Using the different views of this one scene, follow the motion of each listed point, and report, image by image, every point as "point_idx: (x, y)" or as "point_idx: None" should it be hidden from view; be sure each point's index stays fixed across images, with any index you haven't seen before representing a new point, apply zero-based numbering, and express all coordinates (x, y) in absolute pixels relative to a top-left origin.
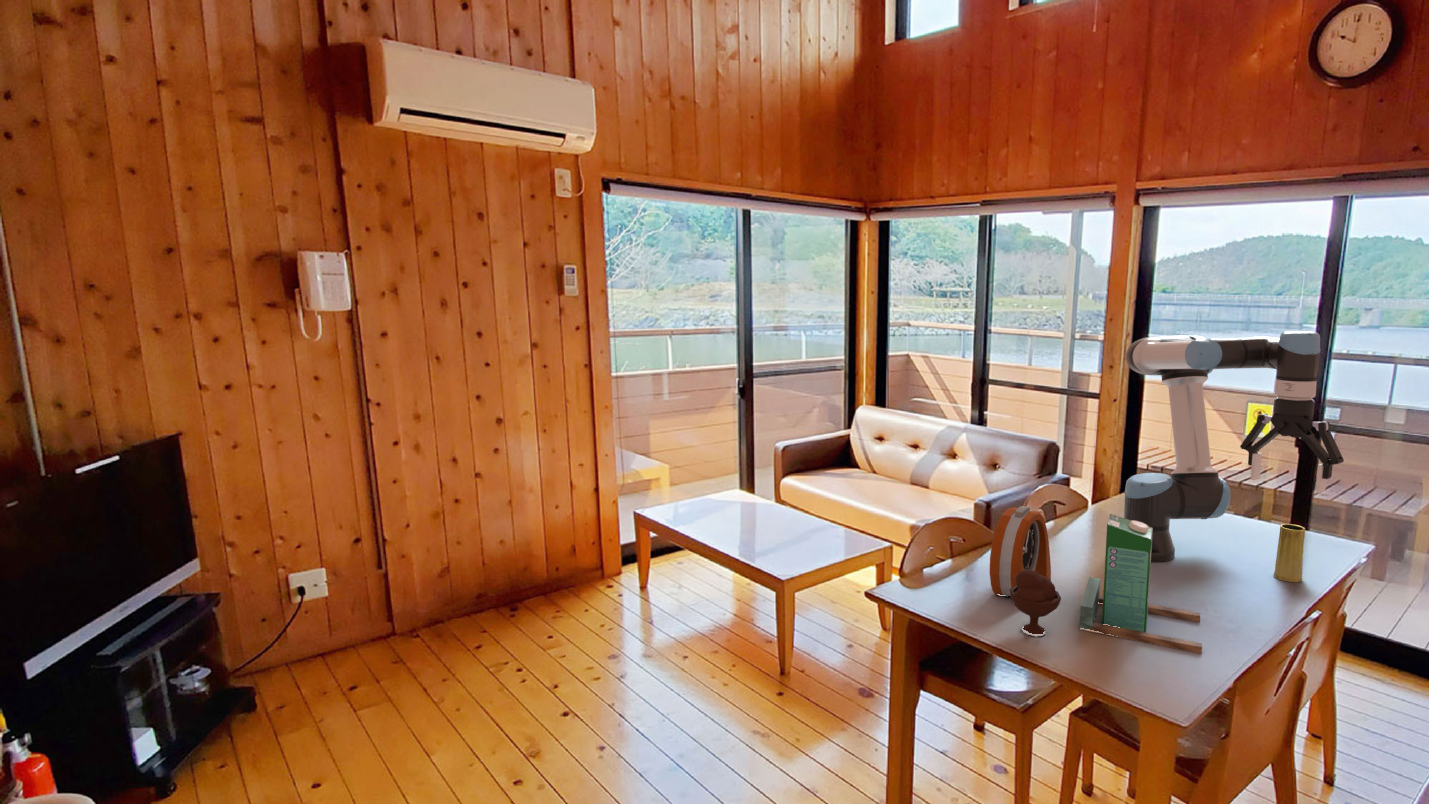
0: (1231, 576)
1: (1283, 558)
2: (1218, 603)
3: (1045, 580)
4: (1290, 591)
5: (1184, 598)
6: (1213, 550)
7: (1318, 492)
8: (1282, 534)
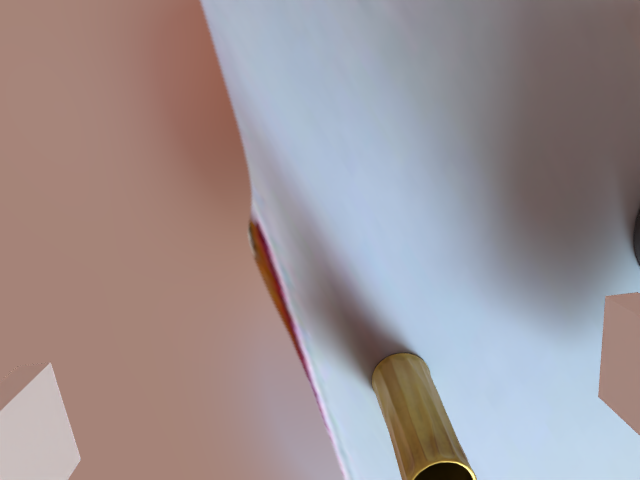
0: (478, 272)
1: (416, 390)
2: (390, 63)
3: None
4: (349, 306)
5: (459, 4)
6: None
7: (24, 367)
8: (448, 442)
